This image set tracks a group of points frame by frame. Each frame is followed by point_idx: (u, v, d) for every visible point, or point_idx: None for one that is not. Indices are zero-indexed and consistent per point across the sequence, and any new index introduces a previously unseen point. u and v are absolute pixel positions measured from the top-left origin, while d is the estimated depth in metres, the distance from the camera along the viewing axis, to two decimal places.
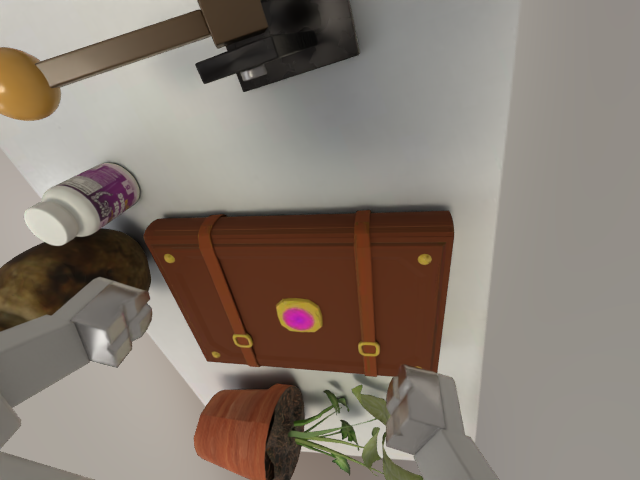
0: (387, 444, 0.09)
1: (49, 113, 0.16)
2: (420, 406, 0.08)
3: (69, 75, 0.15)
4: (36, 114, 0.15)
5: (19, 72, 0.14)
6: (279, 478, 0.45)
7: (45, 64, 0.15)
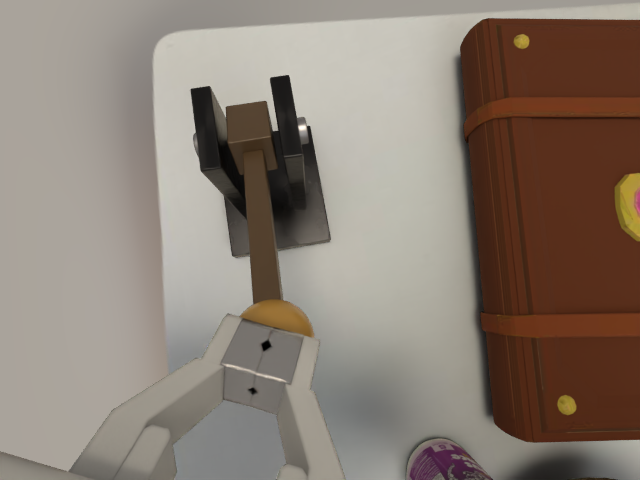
0: (251, 405, 0.09)
1: (308, 319, 0.12)
2: (272, 364, 0.08)
3: (272, 274, 0.13)
4: (305, 323, 0.12)
5: (256, 309, 0.12)
6: None
7: (256, 293, 0.13)
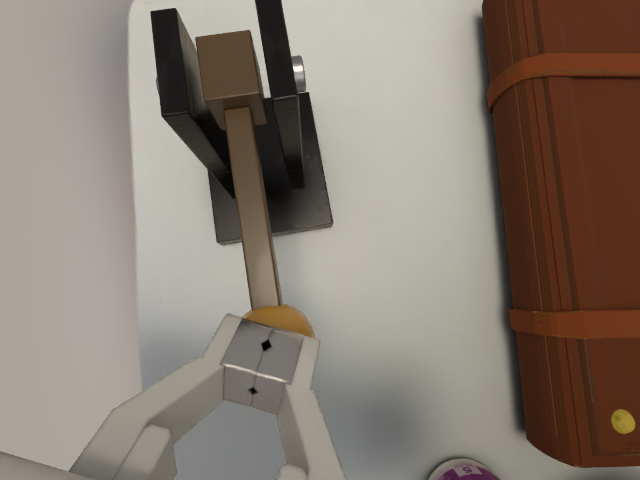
0: (251, 404, 0.09)
1: (309, 324, 0.12)
2: (272, 363, 0.08)
3: (269, 278, 0.12)
4: (307, 334, 0.11)
5: None
6: None
7: (254, 298, 0.12)
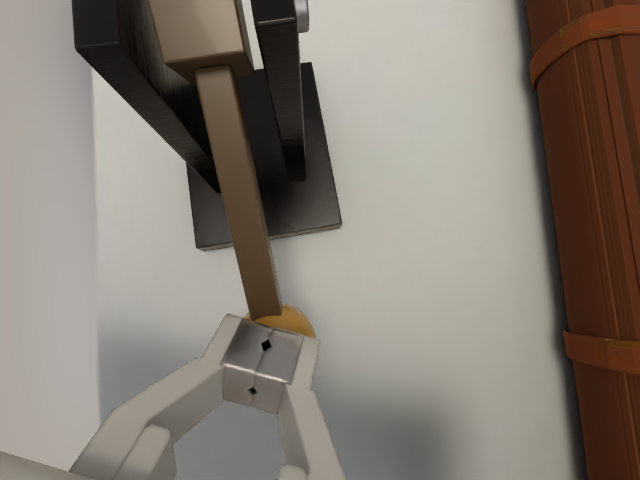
0: (251, 405, 0.09)
1: (311, 328, 0.12)
2: (272, 364, 0.08)
3: (269, 289, 0.11)
4: None
5: None
6: None
7: (253, 309, 0.11)
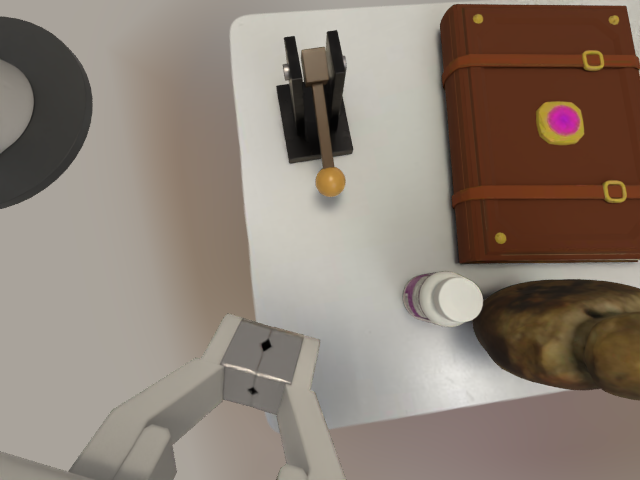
0: (251, 405, 0.09)
1: (343, 174, 0.33)
2: (272, 364, 0.08)
3: (330, 157, 0.33)
4: (344, 177, 0.33)
5: (327, 173, 0.32)
6: None
7: (325, 164, 0.33)
